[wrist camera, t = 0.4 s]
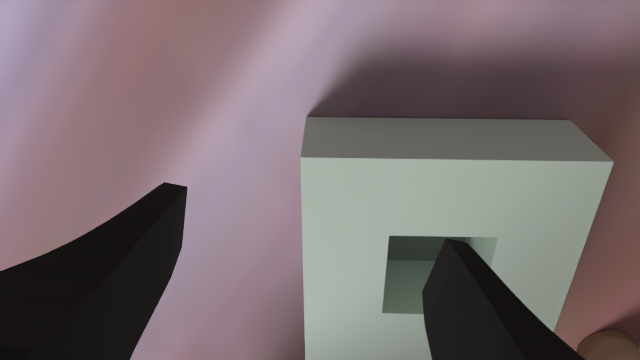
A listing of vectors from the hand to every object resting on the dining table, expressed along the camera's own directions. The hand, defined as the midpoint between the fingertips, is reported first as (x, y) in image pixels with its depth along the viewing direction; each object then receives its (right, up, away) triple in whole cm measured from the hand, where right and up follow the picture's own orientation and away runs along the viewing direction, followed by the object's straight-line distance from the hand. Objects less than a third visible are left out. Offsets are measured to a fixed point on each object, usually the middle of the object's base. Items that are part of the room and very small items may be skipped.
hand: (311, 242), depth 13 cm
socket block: (+6, -1, +12) cm, 13 cm away
